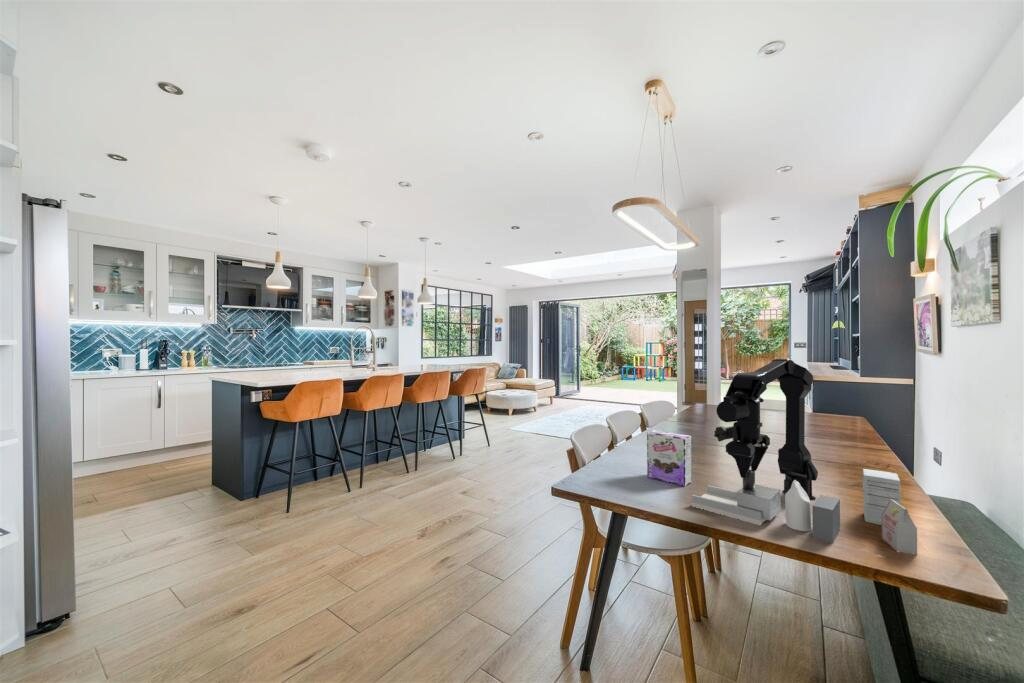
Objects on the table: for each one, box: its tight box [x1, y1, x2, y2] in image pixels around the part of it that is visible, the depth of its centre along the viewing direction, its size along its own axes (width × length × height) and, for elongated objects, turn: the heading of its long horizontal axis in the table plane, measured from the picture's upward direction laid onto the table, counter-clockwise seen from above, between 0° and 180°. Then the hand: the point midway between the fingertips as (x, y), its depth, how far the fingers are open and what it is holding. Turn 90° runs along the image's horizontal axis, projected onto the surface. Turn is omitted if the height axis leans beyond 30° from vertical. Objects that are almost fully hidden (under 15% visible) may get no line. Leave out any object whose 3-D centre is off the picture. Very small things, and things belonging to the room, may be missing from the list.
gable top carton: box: [881, 499, 918, 555], centre depth 97 cm, size 4×7×10 cm, turn 160°
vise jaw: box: [736, 469, 782, 521], centre depth 114 cm, size 8×10×10 cm
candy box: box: [646, 429, 692, 487], centre depth 145 cm, size 14×6×16 cm, turn 45°
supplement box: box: [862, 468, 902, 526], centre depth 111 cm, size 7×7×13 cm
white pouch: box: [784, 480, 812, 532], centre depth 108 cm, size 6×12×6 cm
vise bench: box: [691, 484, 841, 544], centre depth 114 cm, size 33×13×8 cm, turn 44°
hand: (748, 474), depth 116 cm, fingers open, 9 cm apart
